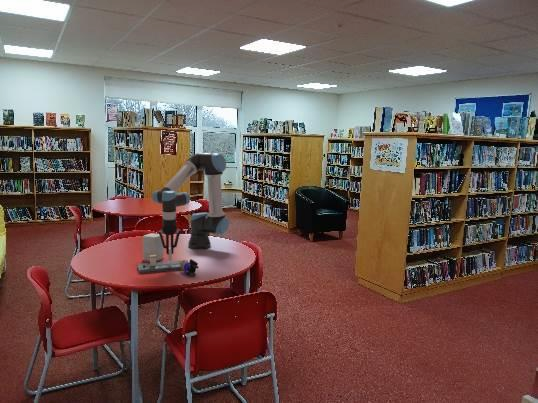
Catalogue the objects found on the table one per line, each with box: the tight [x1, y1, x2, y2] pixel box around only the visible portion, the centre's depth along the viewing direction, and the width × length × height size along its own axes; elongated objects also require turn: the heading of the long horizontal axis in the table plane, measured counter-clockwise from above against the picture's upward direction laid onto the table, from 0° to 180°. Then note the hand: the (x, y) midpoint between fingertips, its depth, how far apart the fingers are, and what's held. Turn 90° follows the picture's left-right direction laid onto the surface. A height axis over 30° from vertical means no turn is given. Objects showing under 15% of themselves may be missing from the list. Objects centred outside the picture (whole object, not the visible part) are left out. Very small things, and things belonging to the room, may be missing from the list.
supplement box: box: [142, 232, 164, 262], centre depth 248 cm, size 9×9×15 cm
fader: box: [149, 255, 157, 266], centre depth 229 cm, size 3×3×6 cm
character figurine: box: [180, 258, 200, 276], centre depth 224 cm, size 8×7×15 cm
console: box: [137, 259, 189, 275], centre depth 232 cm, size 28×12×3 cm, turn 111°
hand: (170, 259), depth 233 cm, fingers closed
